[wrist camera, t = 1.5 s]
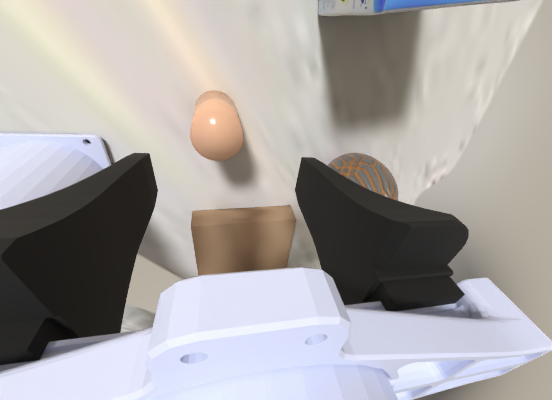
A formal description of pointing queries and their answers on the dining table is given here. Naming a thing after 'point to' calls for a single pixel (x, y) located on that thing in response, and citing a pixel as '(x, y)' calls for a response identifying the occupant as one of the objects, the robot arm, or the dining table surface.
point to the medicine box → (389, 6)
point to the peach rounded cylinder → (216, 127)
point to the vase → (366, 173)
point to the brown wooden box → (242, 239)
